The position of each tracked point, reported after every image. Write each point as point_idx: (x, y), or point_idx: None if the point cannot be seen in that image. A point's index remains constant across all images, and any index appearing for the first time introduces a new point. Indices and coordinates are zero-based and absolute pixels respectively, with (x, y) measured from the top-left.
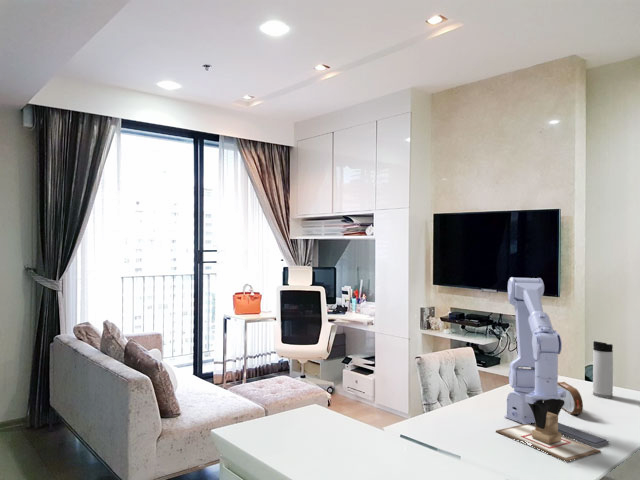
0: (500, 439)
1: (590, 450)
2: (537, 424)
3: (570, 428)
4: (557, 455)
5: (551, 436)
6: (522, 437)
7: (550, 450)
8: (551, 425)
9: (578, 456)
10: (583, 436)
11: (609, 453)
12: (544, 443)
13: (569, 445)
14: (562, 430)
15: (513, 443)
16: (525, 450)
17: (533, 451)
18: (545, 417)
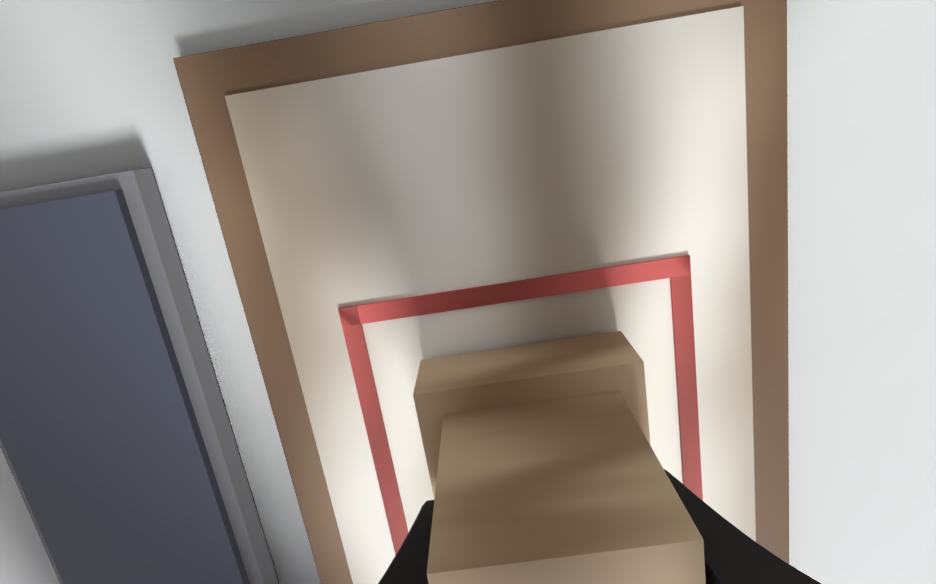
0: (886, 568)
1: (295, 86)
2: None
3: (90, 553)
4: (759, 95)
5: (594, 364)
6: None
7: (723, 214)
8: (583, 457)
9: (558, 2)
10: (109, 364)
11: (107, 4)
12: None
13: (415, 259)
14: (213, 537)
15: (857, 474)
16: (900, 322)
17: (849, 282)
18: (728, 560)
